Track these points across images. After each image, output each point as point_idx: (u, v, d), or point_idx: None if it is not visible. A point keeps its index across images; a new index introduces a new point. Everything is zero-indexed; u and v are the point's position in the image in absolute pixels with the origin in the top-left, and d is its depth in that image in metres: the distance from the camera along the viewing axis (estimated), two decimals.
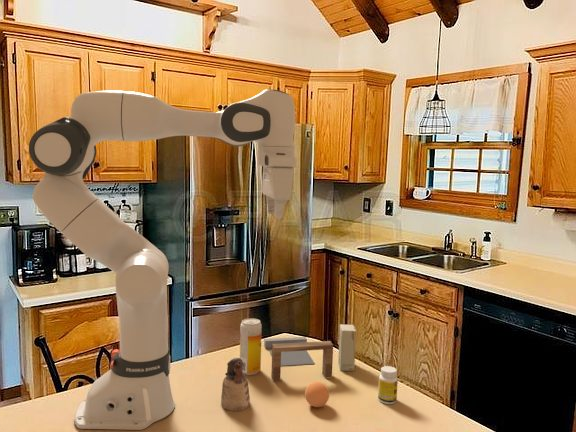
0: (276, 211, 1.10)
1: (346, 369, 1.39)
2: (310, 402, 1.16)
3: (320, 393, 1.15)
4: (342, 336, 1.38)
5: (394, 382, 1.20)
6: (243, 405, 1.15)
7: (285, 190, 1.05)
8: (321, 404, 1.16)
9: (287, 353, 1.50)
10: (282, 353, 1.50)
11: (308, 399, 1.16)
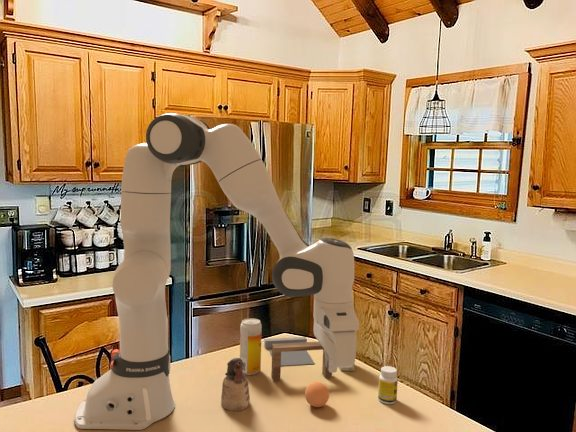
0: (330, 365, 1.05)
1: (346, 369, 1.39)
2: (310, 402, 1.16)
3: (320, 393, 1.15)
4: None
5: (394, 382, 1.20)
6: (243, 405, 1.15)
7: (348, 358, 0.97)
8: (321, 404, 1.16)
9: (287, 353, 1.50)
10: (282, 353, 1.50)
11: (308, 399, 1.16)
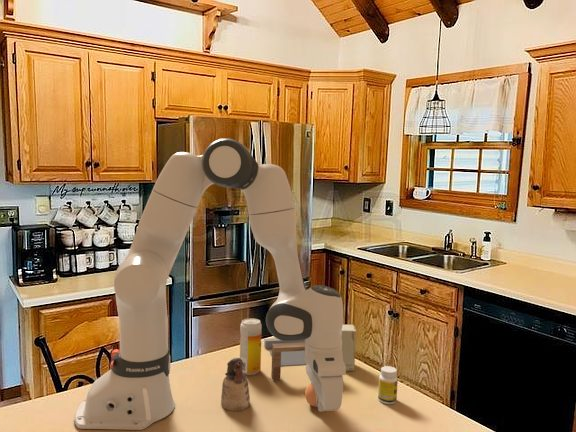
0: (320, 405, 1.12)
1: (346, 369, 1.39)
2: (310, 401, 1.16)
3: None
4: (342, 336, 1.38)
5: (394, 382, 1.20)
6: (243, 405, 1.15)
7: (335, 402, 1.03)
8: None
9: (287, 353, 1.50)
10: (282, 353, 1.50)
11: (308, 398, 1.16)
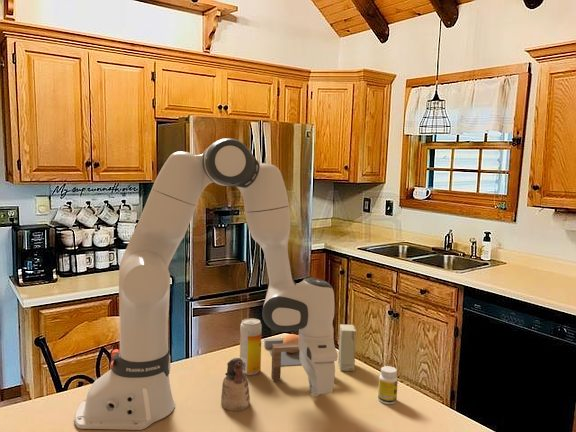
0: (313, 390, 1.19)
1: (346, 369, 1.39)
2: None
3: None
4: (342, 336, 1.38)
5: (394, 382, 1.20)
6: (243, 405, 1.15)
7: (327, 386, 1.11)
8: None
9: (287, 353, 1.50)
10: (282, 353, 1.50)
11: None
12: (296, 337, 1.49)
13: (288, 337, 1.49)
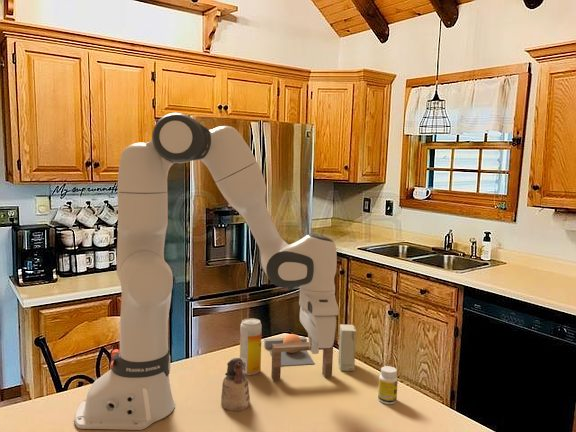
0: (313, 347, 1.18)
1: (346, 369, 1.39)
2: None
3: None
4: (342, 336, 1.38)
5: (394, 382, 1.20)
6: (243, 405, 1.15)
7: (328, 339, 1.09)
8: None
9: (287, 353, 1.50)
10: (282, 353, 1.50)
11: None
12: (296, 337, 1.49)
13: (288, 337, 1.49)
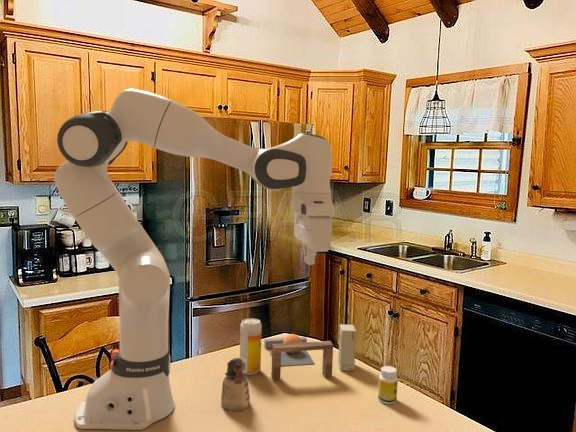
0: (308, 257, 1.09)
1: (346, 369, 1.39)
2: None
3: None
4: (342, 336, 1.38)
5: (394, 382, 1.20)
6: (243, 405, 1.15)
7: (324, 241, 1.00)
8: None
9: (287, 353, 1.50)
10: (282, 353, 1.50)
11: None
12: (296, 337, 1.49)
13: (288, 337, 1.49)
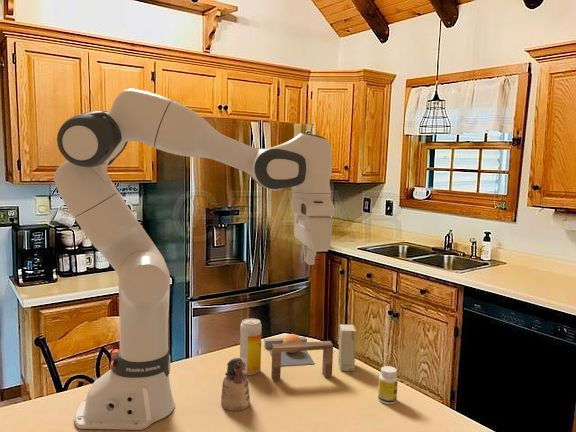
0: (308, 257, 1.09)
1: (346, 369, 1.39)
2: None
3: None
4: (342, 336, 1.38)
5: (394, 382, 1.20)
6: (243, 405, 1.15)
7: (324, 241, 1.00)
8: None
9: (287, 353, 1.50)
10: (282, 353, 1.50)
11: None
12: (296, 337, 1.49)
13: (288, 337, 1.49)
